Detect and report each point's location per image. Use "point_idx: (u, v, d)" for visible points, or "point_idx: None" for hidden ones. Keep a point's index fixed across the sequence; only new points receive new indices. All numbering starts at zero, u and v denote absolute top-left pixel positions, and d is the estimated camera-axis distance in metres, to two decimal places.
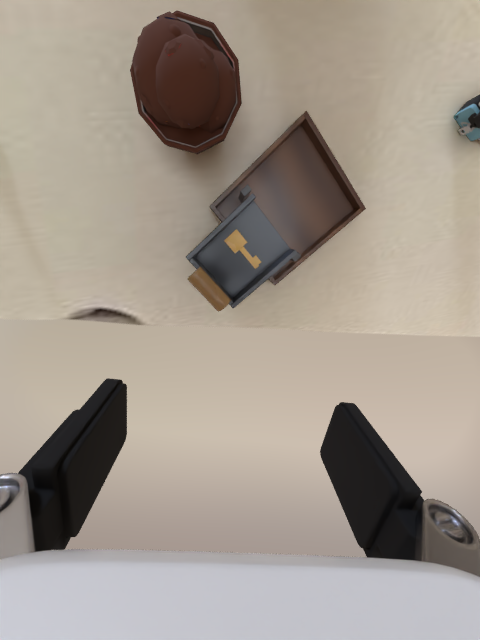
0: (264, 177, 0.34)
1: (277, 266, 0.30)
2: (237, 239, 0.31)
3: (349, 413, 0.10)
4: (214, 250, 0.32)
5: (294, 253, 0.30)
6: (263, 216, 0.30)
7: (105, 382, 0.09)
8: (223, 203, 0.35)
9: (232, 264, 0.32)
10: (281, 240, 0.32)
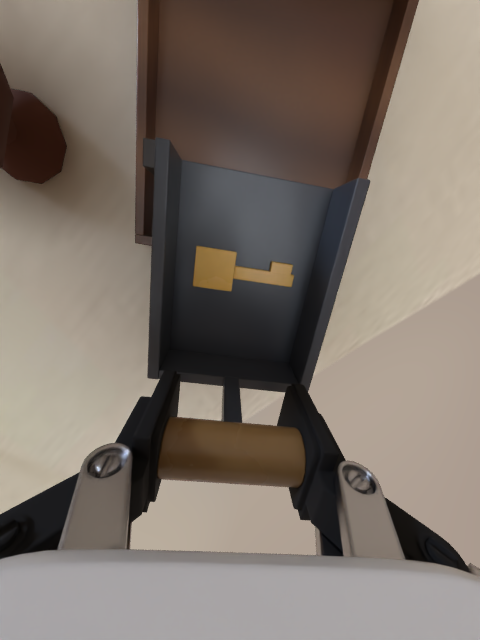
0: (180, 112, 0.16)
1: (340, 250, 0.11)
2: (214, 263, 0.13)
3: (297, 392, 0.11)
4: (192, 314, 0.14)
5: (362, 187, 0.10)
6: (227, 173, 0.12)
7: (165, 372, 0.10)
8: None
9: (242, 311, 0.14)
10: (301, 188, 0.12)
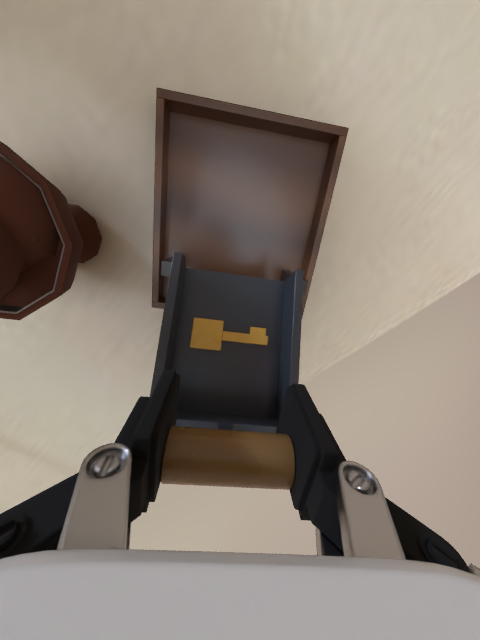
0: (183, 217, 0.22)
1: (295, 310, 0.16)
2: (207, 329, 0.17)
3: (297, 392, 0.11)
4: (187, 373, 0.17)
5: (299, 274, 0.16)
6: (215, 274, 0.18)
7: (164, 372, 0.10)
8: (165, 285, 0.24)
9: (230, 369, 0.17)
10: (264, 281, 0.19)
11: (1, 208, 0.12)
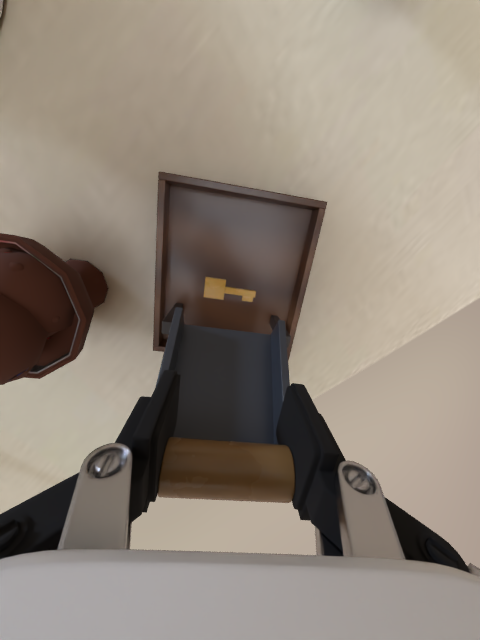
0: (181, 271, 0.25)
1: (282, 352, 0.18)
2: None
3: (297, 392, 0.11)
4: (181, 421, 0.16)
5: (282, 323, 0.19)
6: (209, 329, 0.21)
7: (165, 372, 0.10)
8: None
9: (224, 415, 0.17)
10: (252, 334, 0.21)
11: (31, 303, 0.14)
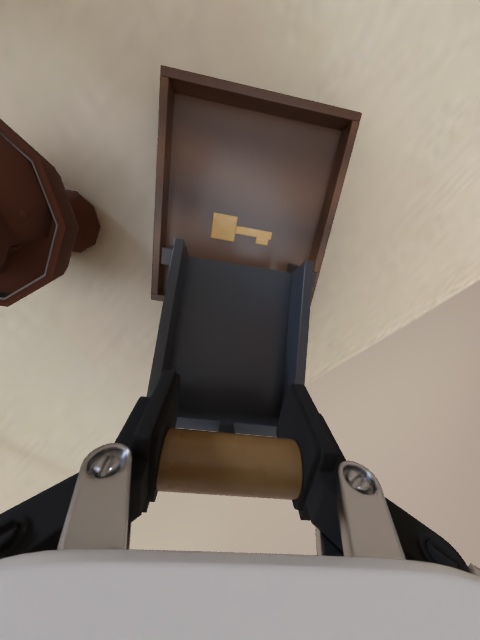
0: (186, 205, 0.21)
1: (304, 304, 0.15)
2: None
3: (297, 392, 0.11)
4: (188, 368, 0.16)
5: (309, 265, 0.15)
6: (219, 264, 0.17)
7: (164, 372, 0.10)
8: (166, 277, 0.23)
9: (232, 364, 0.16)
10: (270, 272, 0.18)
11: None
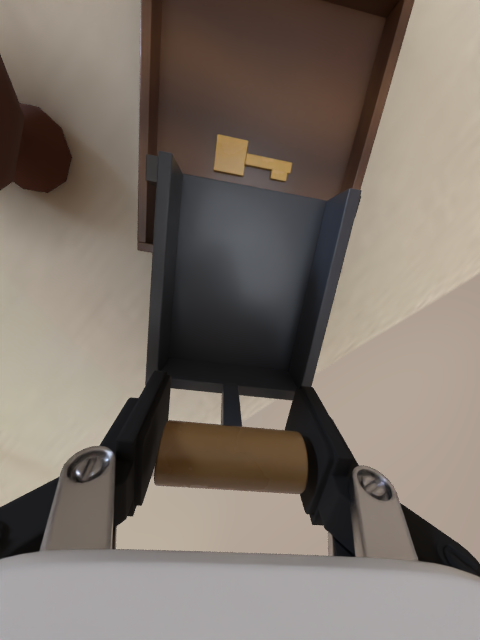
0: (181, 125, 0.16)
1: (336, 256, 0.11)
2: None
3: (306, 395, 0.10)
4: (191, 322, 0.14)
5: (354, 197, 0.11)
6: (225, 186, 0.12)
7: (154, 373, 0.10)
8: None
9: (241, 319, 0.14)
10: (296, 200, 0.13)
11: None
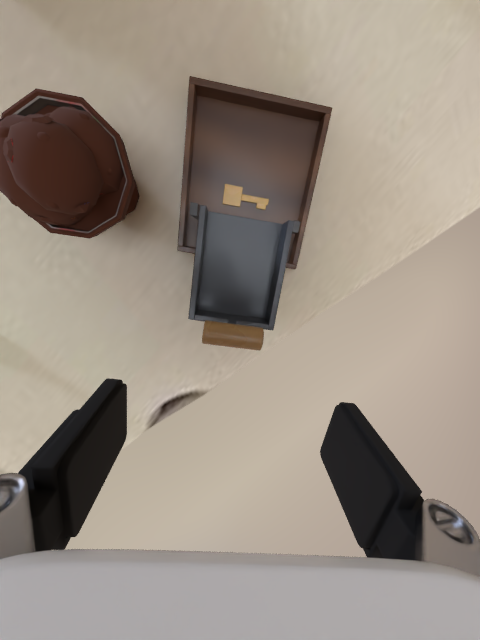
0: (204, 178, 0.28)
1: (283, 252, 0.23)
2: None
3: (349, 413, 0.10)
4: (210, 289, 0.26)
5: (290, 224, 0.22)
6: (230, 217, 0.24)
7: (105, 382, 0.09)
8: (188, 236, 0.30)
9: (238, 287, 0.26)
10: (266, 224, 0.25)
11: (94, 146, 0.18)
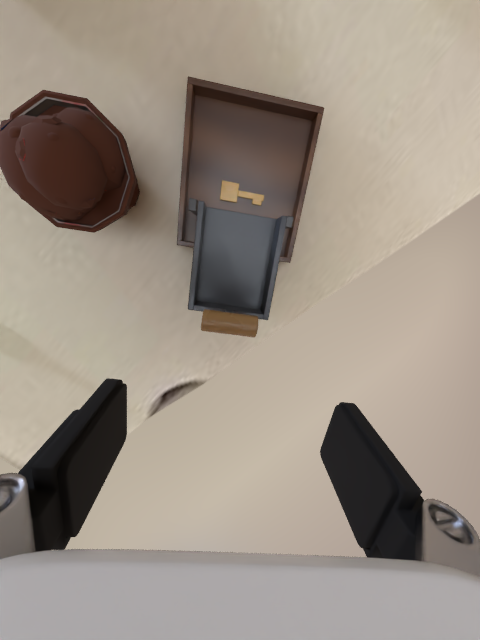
0: (202, 175, 0.30)
1: (277, 246, 0.24)
2: None
3: (349, 413, 0.10)
4: (209, 281, 0.27)
5: (284, 219, 0.24)
6: (227, 212, 0.26)
7: (105, 382, 0.09)
8: (186, 230, 0.32)
9: (234, 280, 0.28)
10: (261, 219, 0.26)
11: (99, 145, 0.19)
